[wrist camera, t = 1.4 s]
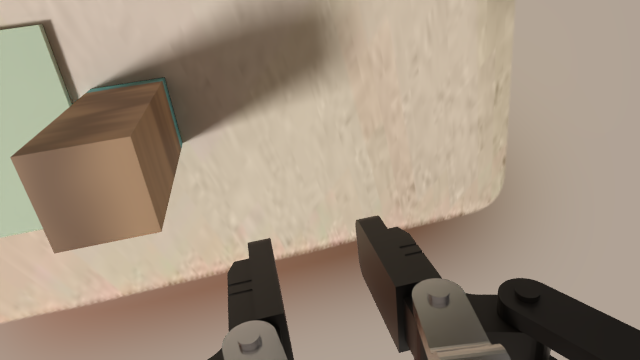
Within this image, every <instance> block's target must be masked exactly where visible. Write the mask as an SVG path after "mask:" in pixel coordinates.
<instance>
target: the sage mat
mask: <svg viewBox="0 0 640 360" xmlns="http://www.w3.org/2000/svg"><path fill="white" fill-rule="evenodd" d="M71 105H72V103H71V100H70V98H69V95H68V92H67V89H66V87H65V84H64V81H63V79H62V76H61V73H60V71H59V68H58V65H57V63H56V60H55V57H54V55H53V52H52V49H51V47H50V44H49V41H48V39H47V36H46V33H45V31H44V28H43V25H42V24H39V25H32V26H25V27H17V28H10V29H3V30H0V238H1V237H6V236H11V235H16V234H22V233H27V232H32V231H37V230H42V229H43V227H42V225H41V223H40V221H39V219H38V217H37V214H36V212H35V210H34V208H33V206H32V204H31V202H30V199H29V197H28V195H27V193H26V191H25V189H24V186H23V184H22V182H21V180H20V178H19V176H18V173H17V171H16V169H15V167H14V165H13V163H12V160H11V158H10V157H11V156H12V155H13V154H15V153H16V152H17V151H18V150H19V149H21V148H22V147H23V146H24V145H25V144H26V143H28V142H29V141H30V140H31V139H32V138H34V137H35V136H36V135H37V134H38V133H39V132H41V131H42V130H43V129H44V128H45V127H47V126H48V125H49V124H50V123H51V122H52V121H54V120H55V119H56V118H57V117H58V116H60V115H61V114H62V113H63V112H64V111H65V110H67V109H68V108H69V107H70V106H71Z"/></svg>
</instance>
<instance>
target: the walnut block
mask: <svg viewBox="0 0 640 360" xmlns="http://www.w3.org/2000/svg"><path fill="white" fill-rule="evenodd" d="M181 147H182V140H181V136H180V132H179V129H178V125H177V121H176V118H175V114H174V110H173V107H172V103H171V99H170V96H169V92H168V88H167V85H166V81H165V77H164V78H158V79H151V80H145V81H139V82H132V83H126V84H120V85H113V86H107V87H101V88H95V89H90V90H89V91H88V92H87V93H85V94H84V95H83V96H82V97H81V98H80V99H78V100H77V101H76V102H75V103H74V104H72V105H71V106H70V107H69V108H68V109H67V110H65V111H64V112H63V113H62V114H61V115H60V116H58V117H57V118H56V119H55V120H54V121H52V122H51V123H50V124H49V125H48V126H47V127H45V128H44V129H43V130H42V131H41V132H39V133H38V134H37V135H36V136H35V137H34V138H32V139H31V140H30V141H29V142H28V143H26V144H25V145H24V146H23V147H22V148H21V149H19V150H18V151H17V152H16V153H15V154H13V155H12V156H11V157H10V158H11V160H12V163H13V165H14V167H15V169H16V171H17V173H18V176H19V178H20V180H21V182H22V184H23V186H24V189H25V191H26V193H27V195H28V197H29V199H30V202H31V204H32V206H33V208H34V210H35V212H36V214H37V217H38V219H39V221H40V223H41V225H42V227H43V230H44V232H45V234H46V236H47V238H48V240H49V243H50V245H51V247H52V249H53V251H54V253H59V252H64V251H68V250H73V249H78V248H83V247H88V246H93V245H98V244H103V243H108V242H113V241H118V240H123V239H128V238H133V237H138V236H143V235H147V234H152V233H157V232H161V231H162V227H163V223H164V219H165V214H166V210H167V206H168V202H169V198H170V193H171V189H172V185H173V181H174V177H175V173H176V168H177V164H178V160H179V156H180V152H181Z"/></svg>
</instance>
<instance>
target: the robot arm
mask: <svg viewBox="0 0 640 360" xmlns="http://www.w3.org/2000/svg"><path fill="white" fill-rule="evenodd" d="M356 235H357V244H358V255H359V263H360V268H361V272H362V275H363V277H364V280H365V282H366V284H367V286H368V288H369V290H370V292H371V294H372V297H373V299H374V301H375V303H376V305H377V307H378V309H379V311H380V313H381V315H382V318H383V320H384V322H385V324H386V326H387V328H388V330H389V332H390V334H391V337H392V339H393V341H394V343H395V345H396V347H397V349H398V351H399V353H400V352H404V351H408V350H411V352H412V354H413V356H414V360H557V359H556V358H554V357H552V356H551V355H550V351H551V349H552V350H554V351H555V352H557V353H559V354H560V355H562V356H564V357H565V358H567V359H569V360H640V330H638V329H636V328H634V327H631V326H629V325H628V324H625V323H623V322H621V321H619V320H617V319H615V318H613V317H611V316H609V315H607V314H605V313H603V312H601V311H598V310H596V309H594V308H592V307H590V306H588V305H586V304H584V303H582V302H580V301H578V300H576V299H574V298H572V297H569V296H568V295H565V294H563V293H561V292H559V291H557V290H555V289H553V288H551V287H549V286H547V285H545V284H543V283H540V282H538V281H535V280H531V279H524V278H516V279H511V280H508V281H505V282H504V283H502V284H501V285H500V287H499V289H498V295H475V294H467V293H465V292H464V290H463V289H462V288H461V287H460V286H459V285H458V284H456V283H454V282H452V281H449V280H446V279H442V278H441V276H440V275H439V273H438V272H437V271H436V269H435V268H434V267H433V265H432V264H431V263H430V261H429V260H428V259H427V257H426V256H425V255H424V253H422V250H421V249H420V248H419V246H418V245H416V242H415V241H414V239H413V238H412V237H411V235H410V234H409V233H407V232H405V231H404V230H402V229H400V228H398V227H394V228H389V229H387V227H386V226H385V224H384V223H383V221H382V220H381V218H380V217H379V216H373V217H368V218H364V219H359V220H356ZM248 250H249V259H245V260H241V261H236V262H234V263H233V265H232V266H231V268H230V270H229V272H228V313H229V314H228V316H229V317H228V319H229V333H228V334H227V335H226V336H225V338H224V340H223V343H222V348H221V349H220V351H218V352H217V353H216V354H215V355H214V356H212V357H211V358H209V359H208V360H294V358H293V352H292V348H291V342H290V337H289V331H288V326H287V321H286V316H285V310H284V305H283V300H282V295H281V289H280V285H279V279H278V274H277V269H276V264H275V259H274V254H273V249H272V244H271V239H270V238H268V239H264V240H259V241H254V242H249V243H248Z"/></svg>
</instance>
